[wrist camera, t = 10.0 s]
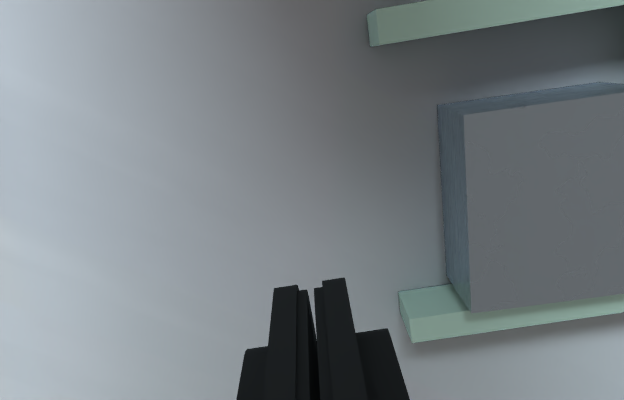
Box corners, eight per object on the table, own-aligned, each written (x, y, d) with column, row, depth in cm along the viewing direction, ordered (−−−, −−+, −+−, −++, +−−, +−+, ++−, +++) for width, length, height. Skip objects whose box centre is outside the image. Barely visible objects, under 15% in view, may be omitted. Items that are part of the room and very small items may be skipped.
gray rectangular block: (435, 104, 24) (463, 114, 20) (596, 81, 24) (659, 87, 20) (445, 273, 27) (471, 313, 23) (588, 254, 27) (641, 291, 23)
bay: (366, 15, 23) (375, 9, 20) (662, -35, 22) (715, -49, 19) (400, 313, 28) (411, 343, 25) (642, 277, 27) (682, 303, 24)
